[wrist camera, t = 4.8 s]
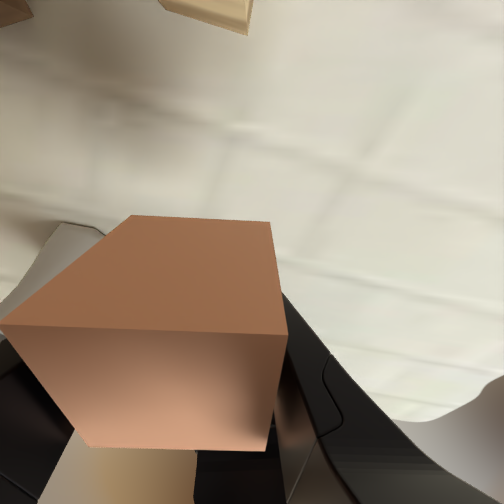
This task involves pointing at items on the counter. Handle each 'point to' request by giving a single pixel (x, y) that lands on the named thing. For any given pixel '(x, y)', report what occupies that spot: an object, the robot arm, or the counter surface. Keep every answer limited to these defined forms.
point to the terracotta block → (162, 335)
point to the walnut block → (13, 12)
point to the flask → (51, 262)
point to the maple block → (215, 12)
